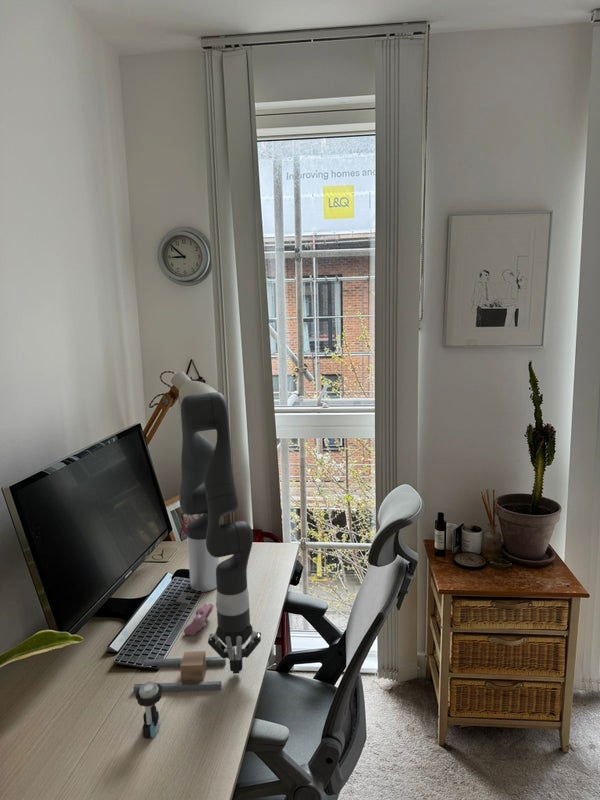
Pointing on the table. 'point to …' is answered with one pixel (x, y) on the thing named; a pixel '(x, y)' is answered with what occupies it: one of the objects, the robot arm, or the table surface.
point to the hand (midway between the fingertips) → (236, 671)
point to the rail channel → (184, 685)
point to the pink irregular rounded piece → (199, 619)
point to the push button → (149, 706)
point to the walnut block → (193, 666)
